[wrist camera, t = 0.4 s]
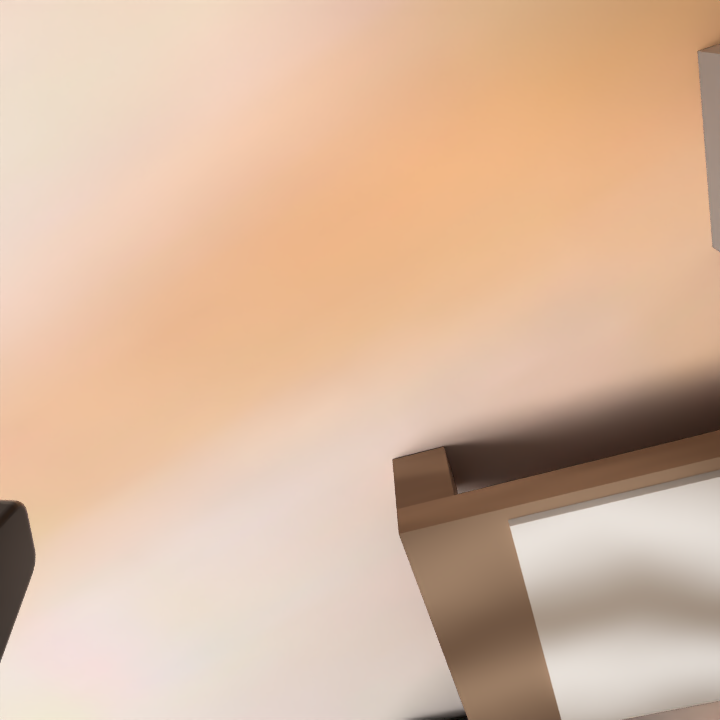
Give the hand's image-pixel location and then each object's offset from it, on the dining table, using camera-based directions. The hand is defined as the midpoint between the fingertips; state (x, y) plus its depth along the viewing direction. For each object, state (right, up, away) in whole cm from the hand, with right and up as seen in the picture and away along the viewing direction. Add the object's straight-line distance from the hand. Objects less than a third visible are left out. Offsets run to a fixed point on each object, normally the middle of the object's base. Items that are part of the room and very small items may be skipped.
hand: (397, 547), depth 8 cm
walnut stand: (+10, -4, +19) cm, 22 cm away
